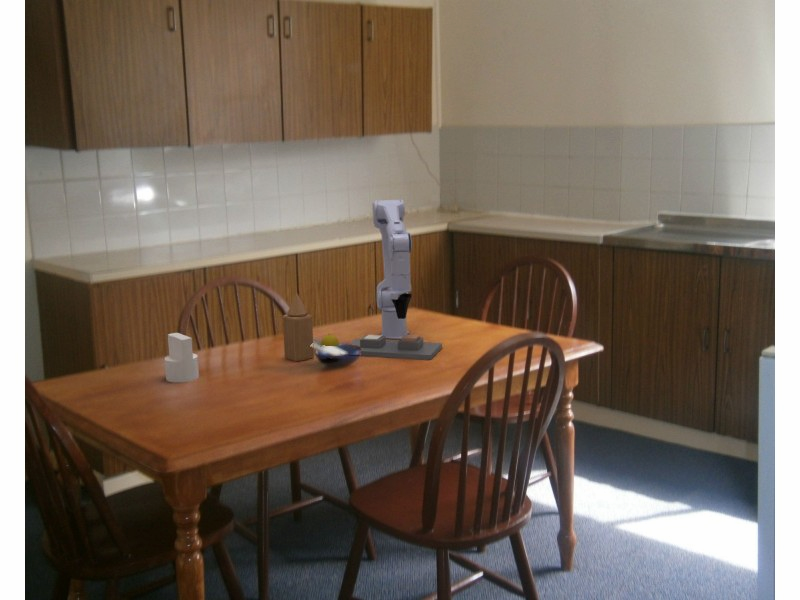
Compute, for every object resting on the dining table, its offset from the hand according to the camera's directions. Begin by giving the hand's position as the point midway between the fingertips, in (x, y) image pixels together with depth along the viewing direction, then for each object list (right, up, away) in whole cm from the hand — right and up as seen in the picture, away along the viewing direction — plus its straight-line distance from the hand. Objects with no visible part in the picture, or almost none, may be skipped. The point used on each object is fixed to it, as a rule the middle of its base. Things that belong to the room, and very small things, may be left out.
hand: (401, 318), depth 274 cm
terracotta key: (+3, -7, +1) cm, 8 cm away
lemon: (-21, -12, -5) cm, 25 cm away
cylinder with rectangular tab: (-61, -16, -19) cm, 66 cm away
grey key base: (-3, -10, +3) cm, 11 cm away
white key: (-9, -8, +4) cm, 13 cm away
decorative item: (-31, -12, -2) cm, 33 cm away
